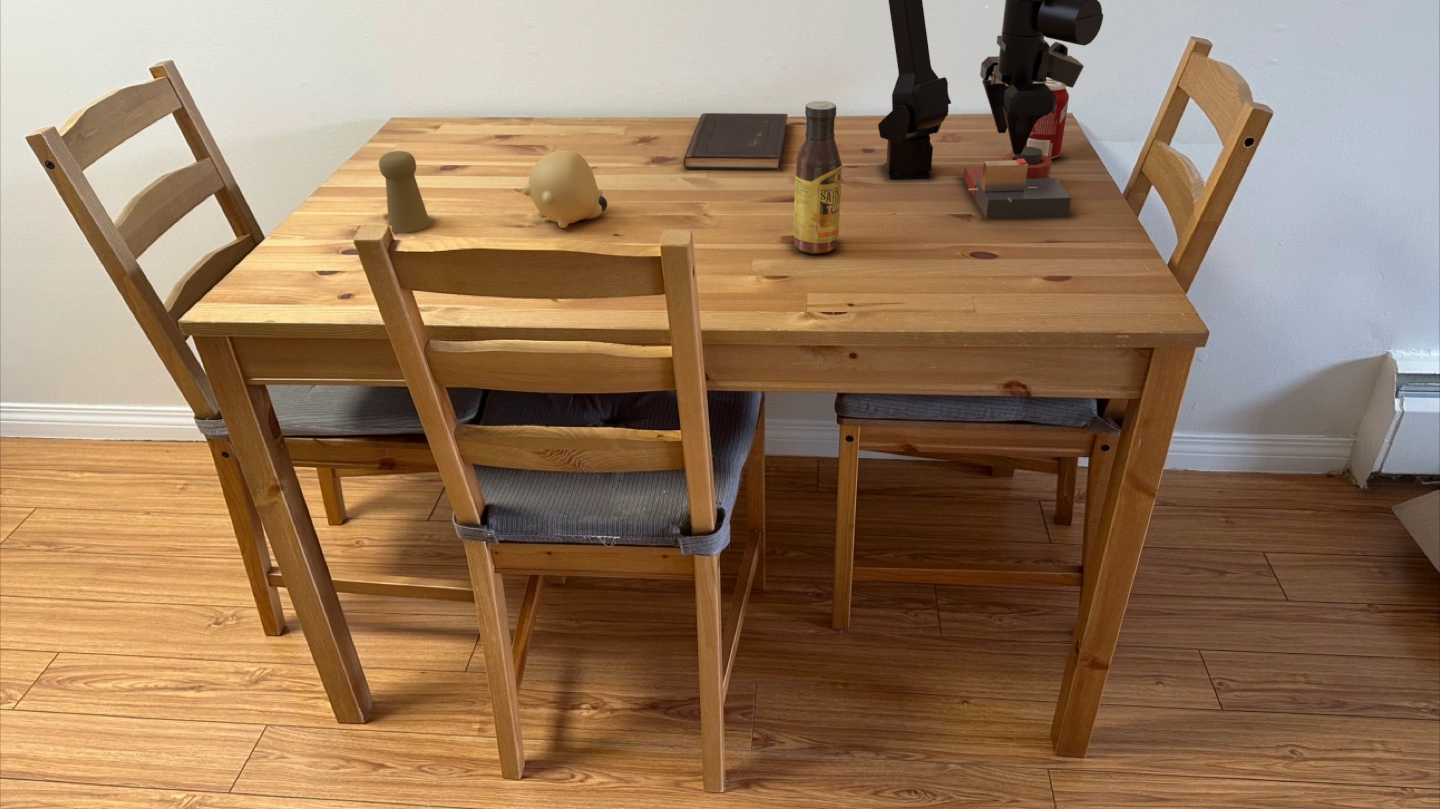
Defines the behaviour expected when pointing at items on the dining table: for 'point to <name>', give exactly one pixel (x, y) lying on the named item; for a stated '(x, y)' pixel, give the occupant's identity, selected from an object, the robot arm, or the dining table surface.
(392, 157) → the brown game pawn
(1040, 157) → the button
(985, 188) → the tan and red box
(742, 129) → the hardcover book
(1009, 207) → the dark grey panel
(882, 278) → the dining table surface
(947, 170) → the dining table surface
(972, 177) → the button box
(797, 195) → the sauce bottle
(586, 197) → the tan rounded figure
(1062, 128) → the soda can
